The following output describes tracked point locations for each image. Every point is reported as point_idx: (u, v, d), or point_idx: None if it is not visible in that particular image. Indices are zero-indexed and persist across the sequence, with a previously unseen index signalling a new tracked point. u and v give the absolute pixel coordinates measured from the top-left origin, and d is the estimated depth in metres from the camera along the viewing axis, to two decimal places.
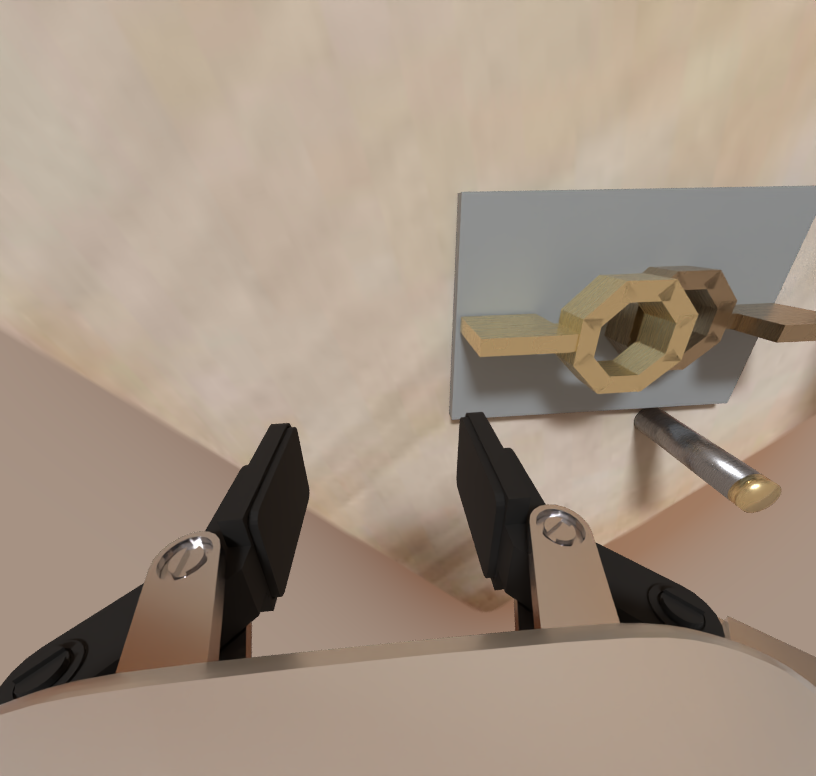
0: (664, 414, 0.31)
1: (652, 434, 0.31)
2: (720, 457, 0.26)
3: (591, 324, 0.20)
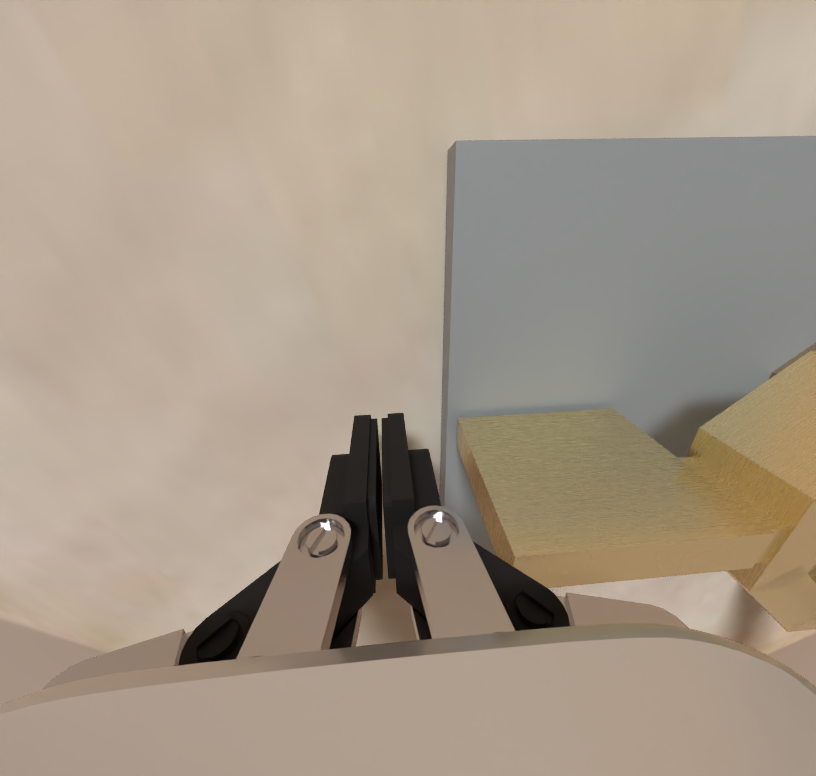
0: None
1: None
2: None
3: None
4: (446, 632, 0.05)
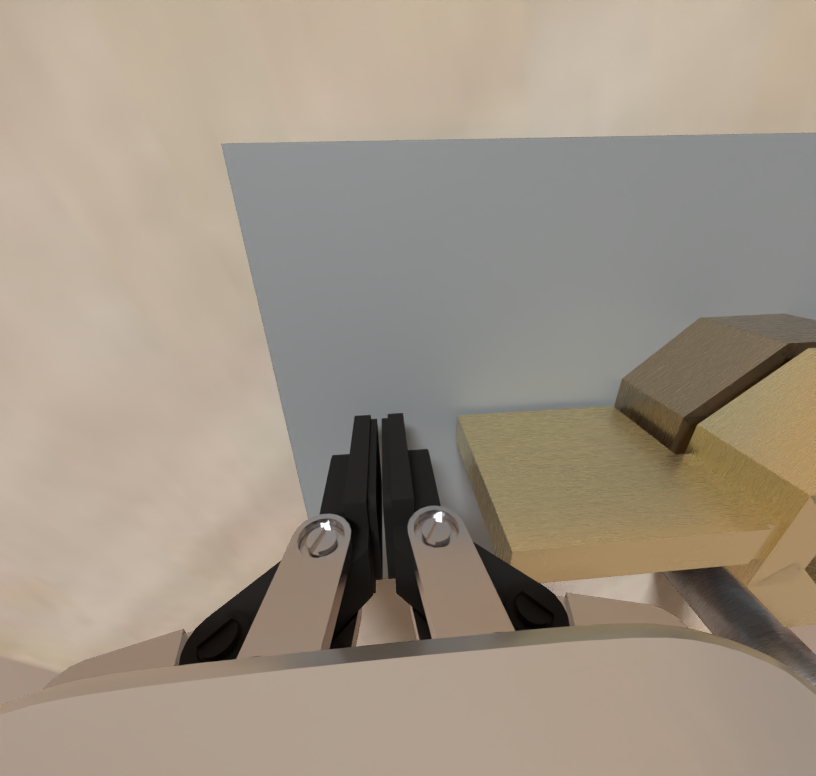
0: None
1: (690, 601, 0.17)
2: None
3: None
4: (446, 632, 0.05)
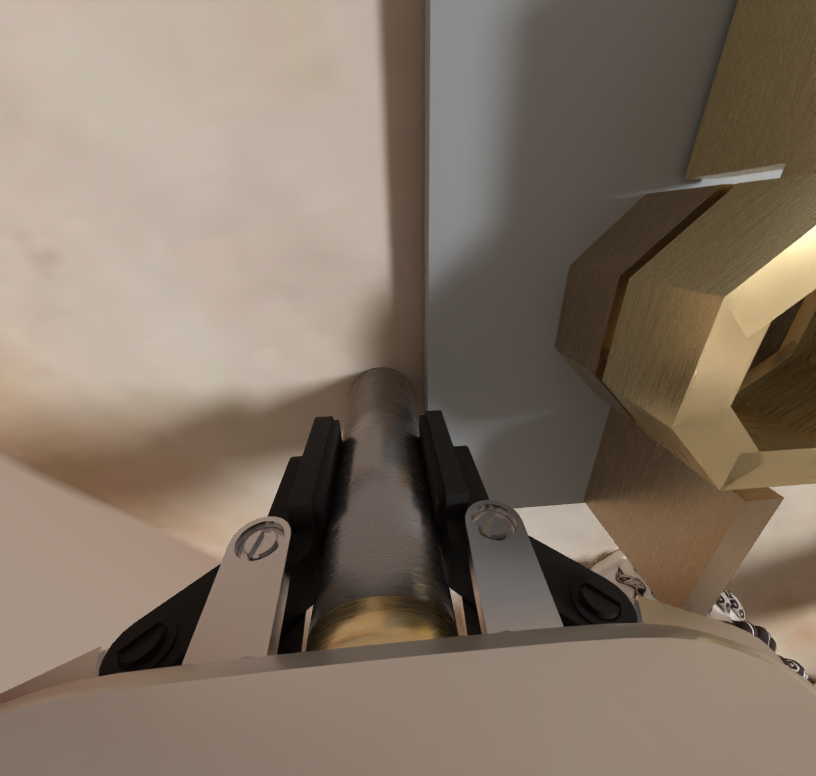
0: None
1: (373, 394, 0.12)
2: (435, 523, 0.08)
3: None
4: (523, 621, 0.05)
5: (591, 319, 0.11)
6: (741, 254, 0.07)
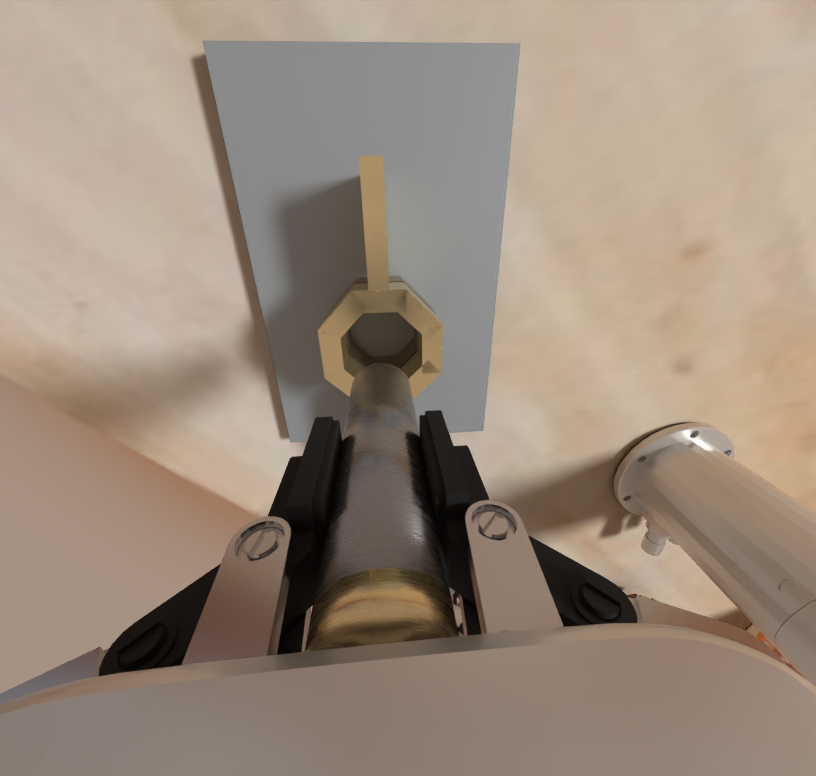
0: None
1: (373, 387, 0.13)
2: (432, 507, 0.08)
3: (401, 300, 0.19)
4: (523, 621, 0.05)
5: None
6: (330, 315, 0.20)
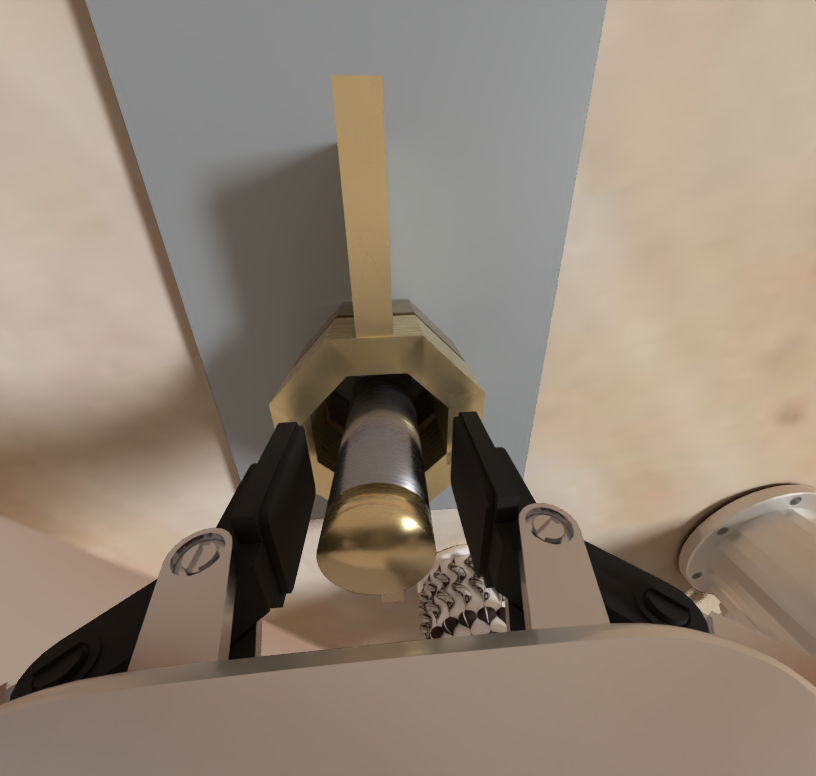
0: None
1: None
2: (420, 453, 0.10)
3: (414, 353, 0.11)
4: None
5: None
6: (291, 376, 0.12)
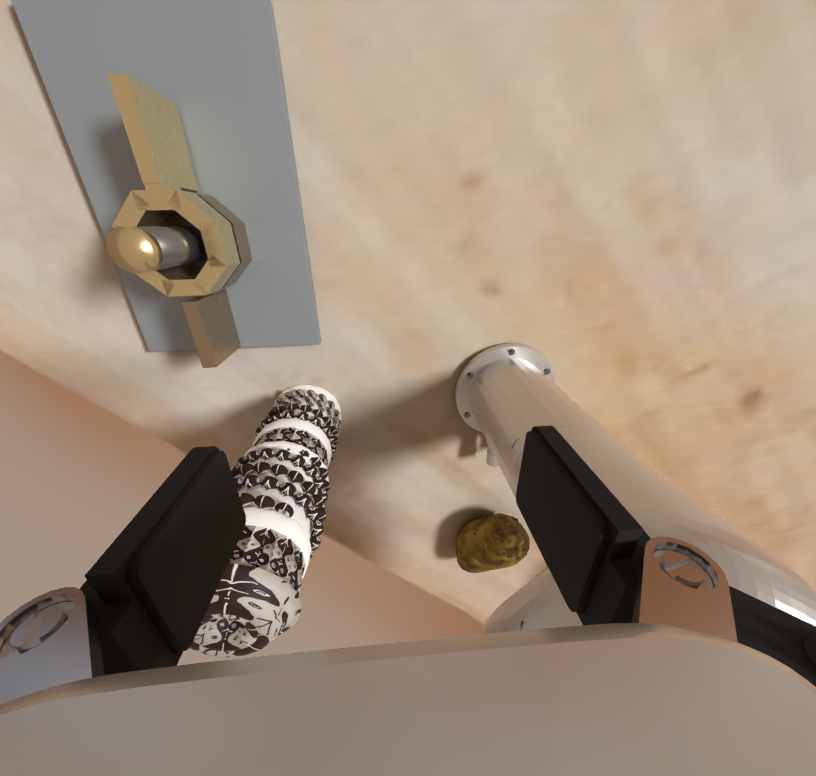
0: None
1: None
2: (174, 239, 0.24)
3: (174, 199, 0.24)
4: None
5: None
6: None
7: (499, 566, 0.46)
